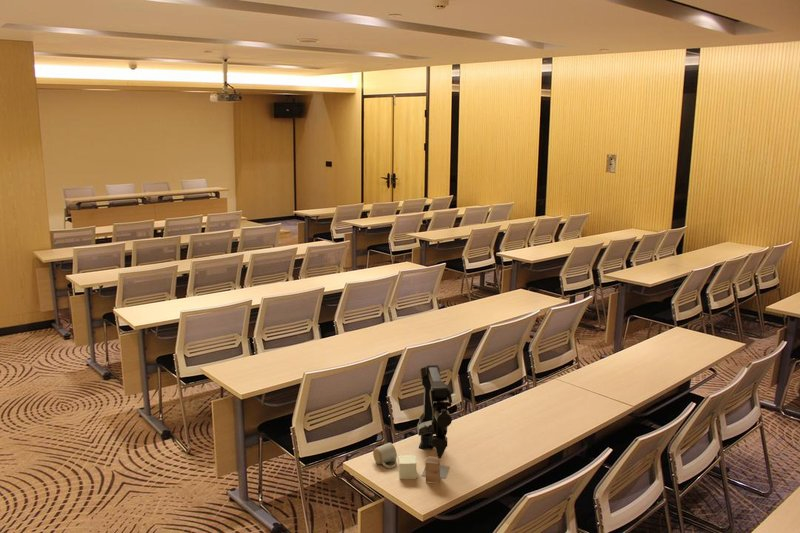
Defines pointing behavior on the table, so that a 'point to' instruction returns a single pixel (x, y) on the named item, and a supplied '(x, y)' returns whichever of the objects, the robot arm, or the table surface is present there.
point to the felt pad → (442, 471)
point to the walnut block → (432, 469)
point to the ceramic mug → (385, 454)
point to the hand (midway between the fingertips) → (439, 452)
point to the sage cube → (407, 466)
